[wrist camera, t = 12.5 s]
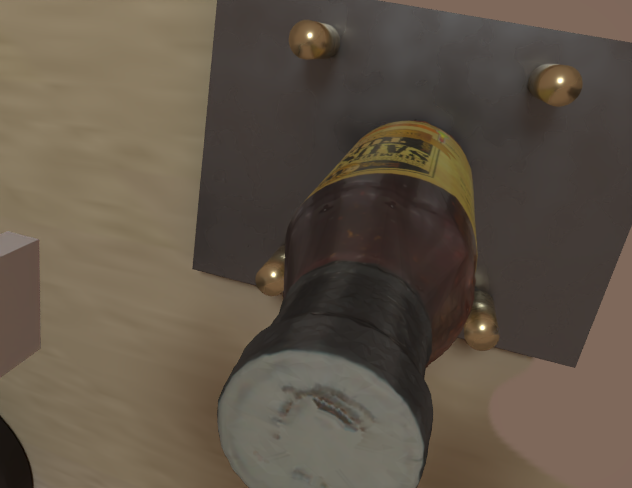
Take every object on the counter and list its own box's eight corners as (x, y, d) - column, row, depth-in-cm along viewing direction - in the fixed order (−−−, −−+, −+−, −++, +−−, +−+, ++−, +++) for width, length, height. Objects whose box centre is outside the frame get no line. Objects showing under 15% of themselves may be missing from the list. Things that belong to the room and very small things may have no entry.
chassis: (203, 260, 34) (164, 292, 29) (230, -22, 28) (188, -37, 24) (569, 353, 31) (590, 406, 26) (685, 54, 25) (739, 54, 20)
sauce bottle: (433, 91, 26) (414, 200, 8) (493, 201, 27) (595, 516, 9) (319, 158, 29) (103, 362, 10) (379, 258, 30) (281, 600, 11)
